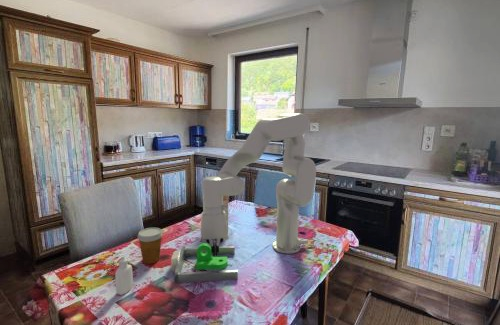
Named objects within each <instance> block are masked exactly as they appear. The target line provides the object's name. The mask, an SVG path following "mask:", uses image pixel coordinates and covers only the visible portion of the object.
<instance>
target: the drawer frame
mask: <svg viewBox="0 0 500 325" xmlns="http://www.w3.org/2000/svg"><path fill="white" fill-rule="evenodd" d="M235 248H236V247H235V246H234V245H233V246H232V245H231V246H219V253H217V256H220V255H235ZM197 249H198V247H186V245H182V246H181V249H180V251H173V253H172V256H171V258H170V260H171V261H170V264H171V266H170V267H171V269H170V270H171V272H172V273H174V283H175V284H178V283H179V284H180V283H197V282H198V283H200V282H213V281H214V282H215V281H216V282H217V281H233V280H234V281H235V280H238V279H239V272H238V271H239V270H238V269H229V270H210V271H192V272H191V271H190V272H189V271H188V272H187V271H186V272H182V270H183V266H184V262H185V257H197ZM201 252H202V253H207V250H205V249H203V250H201ZM211 255H212V256H213V253H211ZM215 256H216V254H215Z"/></svg>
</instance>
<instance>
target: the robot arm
mask: <svg viewBox="0 0 500 325" xmlns="http://www.w3.org/2000/svg"><path fill="white" fill-rule="evenodd" d="M310 127H311V121H310V119H309V116H307V115H306V114H304V113H302V112H301V113H299V112H297V113H296V112H295V113H293V112H291V113H290V112H289V113H282V114H279V115H277V117H276V118H262V119H260V120H258V121H257V122H256V124H255V126H253V129H252V130H251V131H250V132H249V135H248V136H247V137H246V139H245V140H244V142H243V144H242V145H241V147H240V148H239V149H238V150H237V151H235V152H234V154H232V155H231V156H230V157H229V158H228V159H227V160H226V161H225V163H224V164H223V166H222V167H221V169H220V170H219V172H218V174H217V176H207V177H204V178H202V181H201V188H202V189H201V191H202V210H203V211H202V212H201V215H200V242H201V243H206V244H209V245H210V247H211V253H213V255H212V256H213V257H218V255H217V253H219V247H220V245H221V243H223V242H224V241H229V227H228V228H227V217H226V213H225V211H224V210H225V209H227V206H225V205H223V196H228V197H231V196H232V197H233V196H239V195H240V194H242V193H243V191H244V189H245V182H244V180H243V179H242V178H241V177H239V176H238V173H239V172H240V171H241V170H242V169H244V168H245V167H246V166H248V165H249V164H250V165H251V164H253V163H255V162H258V161H259V160H260V159H261V157H262V155H263V154H264V152H265V150H266V149H267V147H268V145H269V144H270V142H272V141H273V142H280V141H284V151H283V159H282V167H281V168H282V169H281V170H282V172H283V174H285V175H286V176H288V177H290V178H294V179H290V178H283V179H281V180H279V181H278V182H277V184H276V187H275V195H276V196H275V197H276V204H277V207H276V208H277V210H276V211H277V212H276V234H275V235H276V238H275V241H273V242H272V248H273V249H274V250H275V251H276V252H278V253H281V254H286V255H291V254H292V255H293V254H297V253H298V252H300V251H301V247H302V246H301V245H308V244H309V241H308V239H304V238H302V237H299V236H298V234H299V232H298V231H299V215H300V214H299V213H300V210H299V207H303V208H304V207H307V206H308V205H309V204H310V203H311V201H312V200H313V199H312V198H313V195H314V191H315V184H316V177H317V166H316V163H315V162H314V160H313V159H311V158H309V157H306V156H305V147H306V143H305V138H304V135H305V134H306V133H307V132H308V131H309V129H310ZM214 240H216V241H215V242H214ZM215 254H216V255H215Z"/></svg>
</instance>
